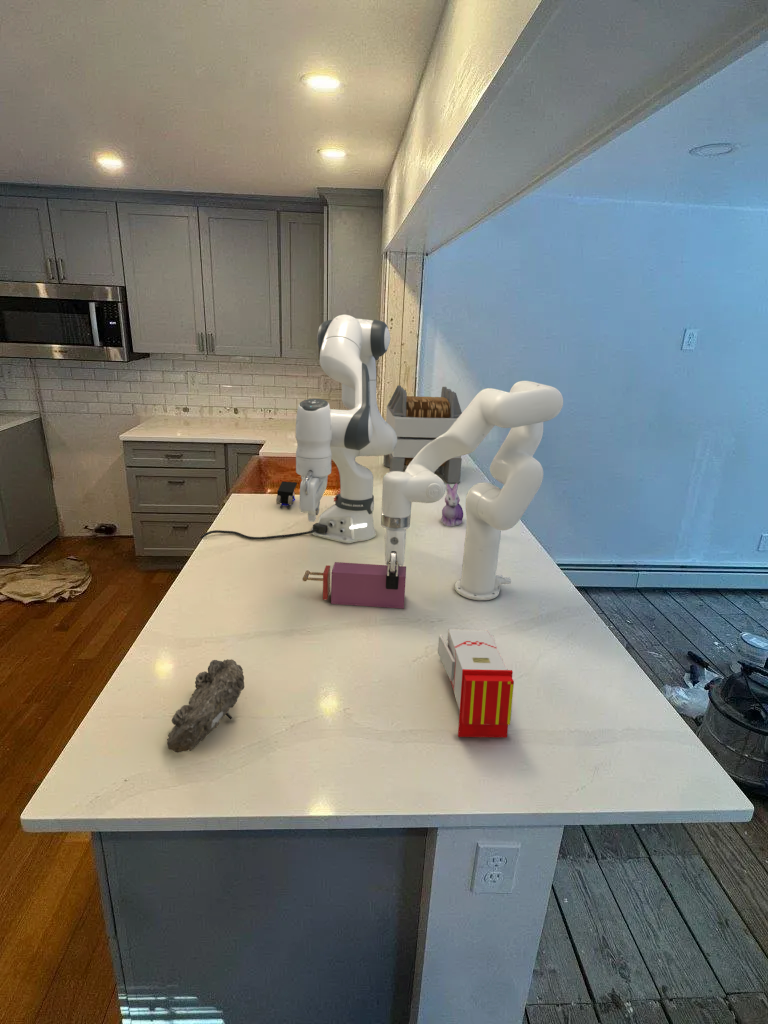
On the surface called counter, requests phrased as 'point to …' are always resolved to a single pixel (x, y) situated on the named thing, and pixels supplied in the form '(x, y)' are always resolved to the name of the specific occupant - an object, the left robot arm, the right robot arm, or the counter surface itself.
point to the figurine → (452, 507)
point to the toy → (478, 682)
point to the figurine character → (286, 494)
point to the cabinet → (366, 585)
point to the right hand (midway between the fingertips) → (392, 582)
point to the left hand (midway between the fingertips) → (313, 517)
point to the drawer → (325, 580)
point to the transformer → (421, 428)
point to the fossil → (206, 705)
